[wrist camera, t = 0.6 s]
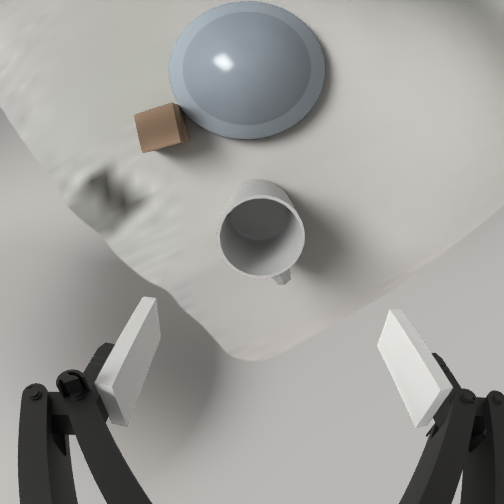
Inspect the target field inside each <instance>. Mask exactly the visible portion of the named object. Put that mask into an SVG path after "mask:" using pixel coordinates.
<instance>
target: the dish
mask: <svg viewBox="0 0 504 504" xmlns="http://www.w3.org/2000/svg"><path fill="white" fill-rule="evenodd" d="M324 78H325V61H324V56H323V52H322V49H321V46H320V44H319V42H318V40H317V38H316V37H315V35H314V34H313V32H312V31H311V30H310V28H309V27H308V26H307V25H306V24H305V23H304V22H303V21H302V20H300V19H299V18H298V17H297V16H295V15H294V14H292V13H290V12H289V11H287V10H285V9H283V8H280V7H278V6H275V5H272V4H268V3H263V2H255V1H240V2H232V3H228V4H224V5H221V6H218V7H215V8H213V9H211V10H209V11H207V12H205V13H203V14H202V15H200V16H199V17H197V18H196V19H195V20H194V21H192V22H191V23H190V24H189V25H188V26H187V27H186V28H185V30H184V31H183V32H182V33H181V35H180V36H179V38H178V39H177V41H176V43H175V45H174V48H173V50H172V54H171V57H170V63H169V80H170V85H171V89H172V92H173V94H174V97H175V99H176V101H177V103H178V104H179V106H180V107H181V109H182V110H183V111H184V112H185V113H186V115H187V116H188V117H189V118H191V119H192V120H193V121H194V122H195V123H197V124H198V125H200V126H201V127H203V128H205V129H206V130H208V131H210V132H213V133H215V134H218V135H221V136H225V137H229V138H236V139H256V138H263V137H267V136H271V135H274V134H277V133H280V132H282V131H284V130H286V129H288V128H290V127H292V126H293V125H294V124H296V123H297V122H299V121H300V120H301V119H302V118H303V117H304V116H306V115H307V113H308V112H309V111H310V110H311V109H312V107H313V106H314V104H315V103H316V101H317V100H318V98H319V95H320V93H321V91H322V87H323V84H324Z"/></svg>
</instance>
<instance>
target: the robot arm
mask: <svg viewBox="0 0 504 504" xmlns="http://www.w3.org/2000/svg"><path fill="white" fill-rule="evenodd" d="M160 339H161V334H160V327H159V319H158V310H157V301H156V298H151V297H143V298H142V299H141V301H140V303H139V305H138V306H137V308H136V309H135V311H134V313H133V314H132V316H131V318H130V320H129V321H128V323H127V325H126V326H125V328H124V330H123V332H122V334H121V335H120V337H119V339H118V340H117V342H116V344H110V343H104V344H103V345H102V346H100V347H99V348H98V349H97V351H96V353H95V354H94V357H92V359H91V361H90V363H89V364H88V366H87V368H86V369H85V371H84V373H82V372H80V371H78V370H67V371H65V372H62V373H61V374H60V375H59V376H58V378H57V380H56V385H57V387H58V389H59V392H48V391H47V389H46V388H45V386H43V385H42V384H37V383H35V384H31V385H29V386H28V387H26V388H25V389H24V391H23V394H22V400H21V410H20V423H19V439H18V440H19V441H18V478H19V496H20V504H78V502H77V497H76V491H75V485H74V479H73V473H72V465H71V456H70V448H69V435H76V437H77V440H78V443H79V445H80V448H81V450H82V452H83V454H84V457H85V459H86V462H87V464H88V466H89V468H90V471H91V473H92V475H93V477H94V479H95V481H96V483H97V485H98V487H99V489H100V491H101V493H102V495H103V496H104V499H105V500H106V502H107V504H152V503H151V501H150V500H149V498H148V497H147V495H146V494H145V492H144V491H143V489H142V487H141V486H140V484H139V483H138V481H137V479H136V478H135V476H134V475H133V473H132V471H131V470H130V468H129V466H128V465H127V463H126V461H125V459H124V458H123V456H122V454H121V452H120V450H119V448H118V447H117V445H116V443H115V441H114V439H113V437H112V435H111V433H110V431H109V429H108V427H107V425H106V421H107V419H108V416H109V418H110V421H111V423H113V424H117V425H121V426H126V427H128V424H129V420H130V418H131V415H132V412H133V409H134V407H135V404H136V401H137V399H138V396H139V393H140V391H141V388H142V385H143V382H144V380H145V377H146V375H147V372H148V369H149V367H150V364H151V362H152V359H153V356H154V354H155V351H156V349H157V346H158V343H159V341H160ZM377 347H378V349H379V351H380V353H381V355H382V357H383V359H384V361H385V363H386V365H387V368H388V370H389V372H390V374H391V376H392V378H393V380H394V382H395V384H396V387H397V389H398V391H399V393H400V395H401V397H402V400H403V401H404V404H405V406H406V408H407V410H408V413H409V415H410V417H411V420H412V422H413V424H414V426H415V428H417V427H422V426H426V425H428V423H429V422H430V421H431V420H432V418H433V419H434V421H435V424H434V425H433V426H432V428H431V429H430V430H429V432H428V433H427V435H426V436H428V435H429V434H430V435H429V438H428V440H427V443H426V446H425V448H424V451H423V453H422V456H421V458H420V460H419V463H418V465H417V467H416V470H415V472H414V474H413V476H412V479H411V481H410V483H409V485H408V487H407V489H406V491H405V493H404V495H403V497H402V499H401V501H400V503H399V504H451V503H452V500H453V498H454V495H455V492H456V489H457V486H458V482H459V480H460V476H461V473H462V470H463V479H462V492H461V503H460V504H504V395H503V394H502V393H501V392H499V391H491V392H490V393H489V394H488V395H487V397H486V398H481V397H476V396H475V394H474V393H473V392H472V391H470V390H468V389H462V388H461V387H460V385H459V384H458V382H457V381H456V379H455V378H454V376H453V374H452V373H451V372H450V370H449V368H448V367H447V366H446V364H445V362H444V361H443V359H442V358H441V357H439V356H438V355H437V354H436V353H431V352H430V351H429V349H428V348H427V346H426V345H425V344H424V342H423V340H422V339H421V337H420V336H419V335H418V333H417V332H416V330H415V329H414V327H413V326H412V324H411V323H410V322H409V320H408V319H407V317H406V316H405V315H404V313H403V312H402V310H401V309H390V310H389V313H388V316H387V319H386V322H385V325H384V328H383V331H382V333H381V336H380V339H379V342H378V344H377Z"/></svg>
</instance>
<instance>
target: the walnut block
mask: <svg viewBox="0 0 504 504" xmlns="http://www.w3.org/2000/svg"><path fill="white" fill-rule="evenodd" d="M134 118H135V122H136V127H137V132H138V136H139V141H140V145H141V149H142V153H145V152H150V151H155V150H159V149H162V148H166V147H169V146H173V145H177V144H180V143H184V142H188V141H189V138H188V133H187V129H186V124H185V119H184V115H183V110H182V109H181V107H180V106H179V105H177V104H174V103H169V104H166V105H163V106H159V107H156V108H153V109H150V110H147V111H144V112H141V113H138V114H135V115H134Z"/></svg>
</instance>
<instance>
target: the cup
mask: <svg viewBox="0 0 504 504" xmlns="http://www.w3.org/2000/svg"><path fill="white" fill-rule="evenodd" d="M216 235H217V246H218V249H219V251H220V254H221V256H222V258H223V259H224V260H225V262H226V263H227V265H229V266H230V267H231V268H232V269H233V270H235V271H236V272H238V273H240V274H242V275H244V276H248V277H252V278H269V277H272V278H273V279H274V281H275V282H276V283H277V284H279V285H285V284H286V283H287V282H288V281H289V280H290V267H291V266H292V265H293V264H294V263H295V262H296V261H297V259H298V257H299V256H300V254H301V252H302V249H303V246H304V240H305V231H304V227H303V223H302V220H301V219H300V217H299V215H298V213H297V211H296V209H295V208H294V206H293V204H292V202H291V201H290V199H289V197H288V196H287V194H286V193H285V192H284V191H283V190H282V189H281V188H280V187H279V186H278V185H276V184H274V183H272V182H269V181H265V180H253V181H249V182H246V183H244V184H242V185H241V186H239V187H238V188H237V189H236V190H235V191H234V192H233V193H232V194H231V196H230V197H229V199H228V201H227V203H226V206H225V209H224V211H223V214H222V216H221V219H220V222H219V225H218V229H217V234H216Z"/></svg>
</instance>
